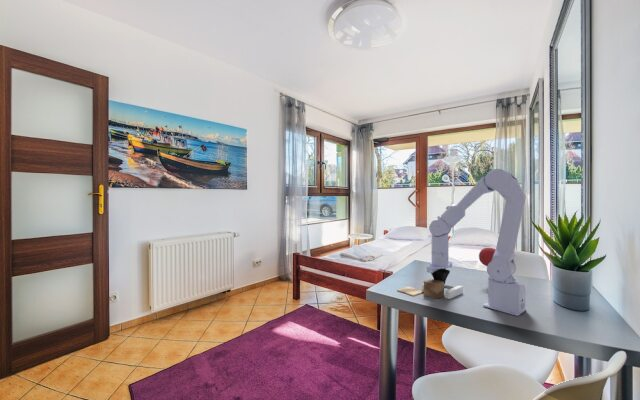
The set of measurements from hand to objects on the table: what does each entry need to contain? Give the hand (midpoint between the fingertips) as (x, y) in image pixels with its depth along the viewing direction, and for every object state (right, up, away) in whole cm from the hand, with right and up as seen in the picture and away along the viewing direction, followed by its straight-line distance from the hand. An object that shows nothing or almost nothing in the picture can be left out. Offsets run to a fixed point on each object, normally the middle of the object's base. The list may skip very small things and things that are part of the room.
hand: (439, 289), depth 99 cm
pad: (-10, -1, +2) cm, 10 cm away
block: (-3, -1, -2) cm, 4 cm away
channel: (+1, -1, +1) cm, 2 cm away
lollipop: (+25, -2, +11) cm, 28 cm away
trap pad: (+7, -2, +6) cm, 9 cm away
